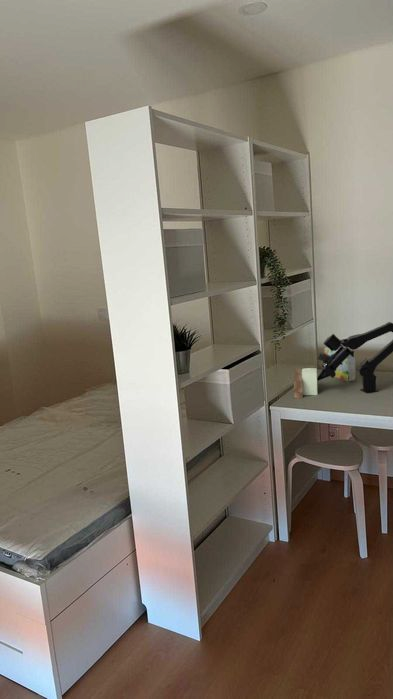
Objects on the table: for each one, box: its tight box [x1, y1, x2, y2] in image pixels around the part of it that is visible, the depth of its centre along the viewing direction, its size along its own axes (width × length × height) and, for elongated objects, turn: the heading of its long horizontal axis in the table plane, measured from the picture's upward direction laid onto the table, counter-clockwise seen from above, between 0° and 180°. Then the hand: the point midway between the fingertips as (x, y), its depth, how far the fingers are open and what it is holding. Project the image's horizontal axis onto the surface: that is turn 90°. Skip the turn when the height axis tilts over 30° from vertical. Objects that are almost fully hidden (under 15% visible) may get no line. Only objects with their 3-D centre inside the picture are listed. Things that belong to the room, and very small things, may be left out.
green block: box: [301, 367, 318, 396], centre depth 268 cm, size 7×10×11 cm
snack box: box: [323, 346, 357, 382], centre depth 290 cm, size 21×6×15 cm, turn 21°
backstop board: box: [293, 369, 304, 399], centre depth 269 cm, size 4×20×9 cm, turn 168°
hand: (317, 379), depth 267 cm, fingers closed, pressing on green block
